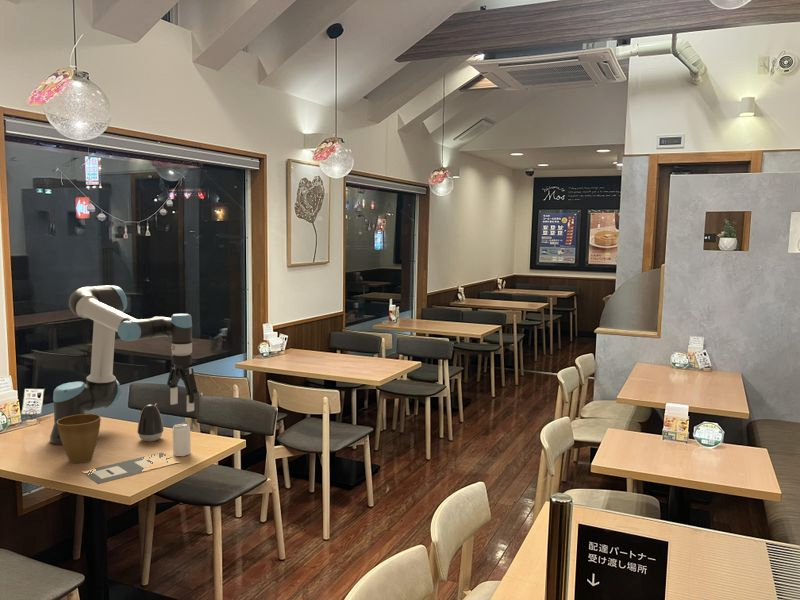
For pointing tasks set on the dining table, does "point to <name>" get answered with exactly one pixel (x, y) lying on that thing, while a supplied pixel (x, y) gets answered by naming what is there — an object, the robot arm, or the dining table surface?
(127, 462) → the label panel
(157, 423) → the pump dispenser
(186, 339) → the robot arm
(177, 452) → the can
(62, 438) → the plant pot
